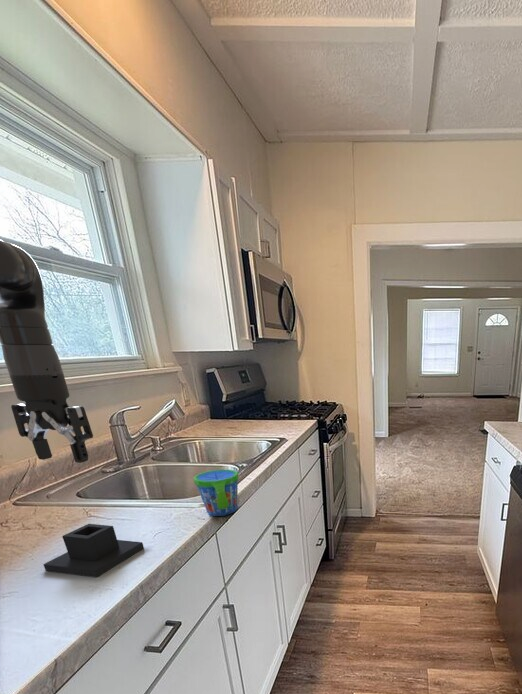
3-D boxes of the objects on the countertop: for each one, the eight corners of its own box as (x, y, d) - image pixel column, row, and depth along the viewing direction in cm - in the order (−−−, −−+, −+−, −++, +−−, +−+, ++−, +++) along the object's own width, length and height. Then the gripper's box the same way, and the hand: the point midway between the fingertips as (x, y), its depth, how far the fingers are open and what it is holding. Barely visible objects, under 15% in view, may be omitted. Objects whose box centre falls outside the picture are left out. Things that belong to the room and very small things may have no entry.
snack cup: (202, 504, 111) (195, 468, 107) (242, 499, 114) (237, 464, 110) (199, 526, 97) (191, 486, 93) (244, 520, 101) (238, 481, 97)
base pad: (45, 571, 78) (37, 550, 76) (97, 543, 89) (91, 525, 87) (97, 577, 76) (90, 556, 74) (144, 548, 87) (139, 529, 85)
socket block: (69, 558, 80) (61, 535, 78) (95, 544, 85) (88, 523, 83) (95, 561, 79) (87, 538, 77) (119, 547, 84) (113, 525, 82)
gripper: (-19, 372, 69) (14, 463, 76) (48, 374, 66) (77, 468, 73) (25, 369, 76) (52, 453, 82) (88, 371, 73) (111, 457, 80)
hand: (64, 460), depth 78 cm, fingers open, 8 cm apart
